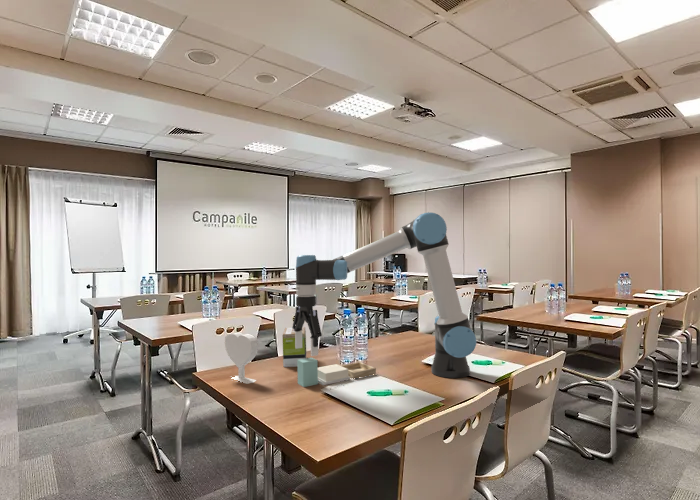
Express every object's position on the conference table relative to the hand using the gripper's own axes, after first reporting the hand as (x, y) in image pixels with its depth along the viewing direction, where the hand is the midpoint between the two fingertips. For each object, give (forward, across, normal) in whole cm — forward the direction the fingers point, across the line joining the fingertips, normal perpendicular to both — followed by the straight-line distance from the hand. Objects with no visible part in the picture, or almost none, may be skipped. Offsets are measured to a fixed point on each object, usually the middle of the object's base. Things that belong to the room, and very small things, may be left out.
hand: (306, 351), depth 152 cm
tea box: (+12, -31, +9) cm, 34 cm away
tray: (+12, 0, +23) cm, 26 cm away
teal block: (+12, 0, 0) cm, 12 cm away
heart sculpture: (+13, -20, -19) cm, 30 cm away
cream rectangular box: (+12, 0, +10) cm, 16 cm away
